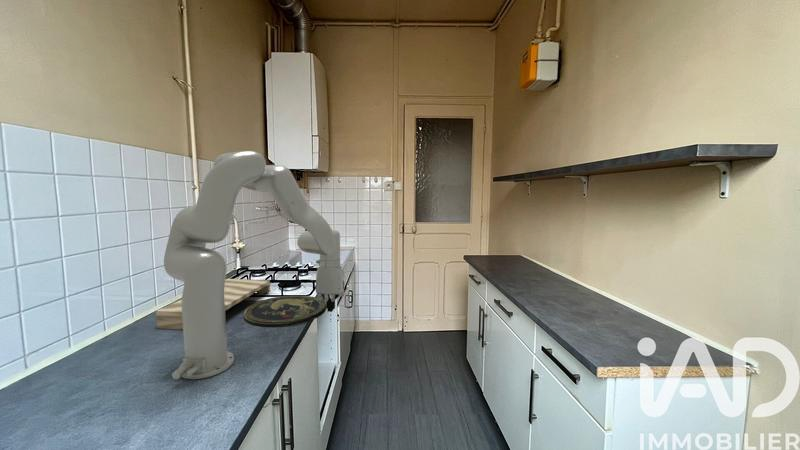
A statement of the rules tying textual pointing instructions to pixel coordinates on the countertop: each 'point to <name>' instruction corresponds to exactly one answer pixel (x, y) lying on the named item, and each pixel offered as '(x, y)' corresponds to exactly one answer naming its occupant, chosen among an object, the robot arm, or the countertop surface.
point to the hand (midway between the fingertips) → (330, 310)
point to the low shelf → (232, 295)
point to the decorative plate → (284, 311)
